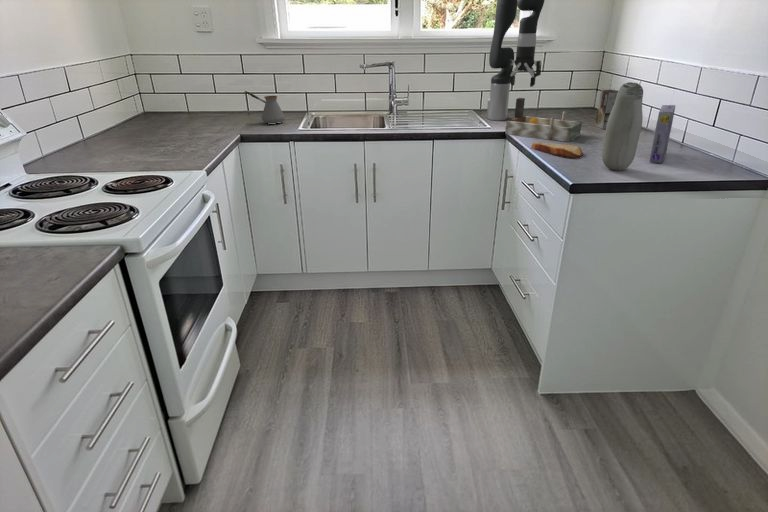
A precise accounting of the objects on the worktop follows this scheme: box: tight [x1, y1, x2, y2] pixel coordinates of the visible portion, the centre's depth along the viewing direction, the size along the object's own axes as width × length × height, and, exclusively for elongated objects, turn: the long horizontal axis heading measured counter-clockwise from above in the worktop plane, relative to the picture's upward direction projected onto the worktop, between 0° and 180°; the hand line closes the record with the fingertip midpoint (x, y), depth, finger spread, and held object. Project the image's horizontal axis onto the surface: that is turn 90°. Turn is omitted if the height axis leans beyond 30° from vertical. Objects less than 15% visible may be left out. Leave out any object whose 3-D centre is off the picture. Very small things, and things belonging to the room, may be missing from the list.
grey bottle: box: [601, 81, 644, 171], centre depth 160 cm, size 10×10×28 cm
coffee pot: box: [242, 90, 286, 123], centre depth 244 cm, size 21×12×15 cm, turn 68°
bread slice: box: [530, 142, 584, 159], centre depth 187 cm, size 18×18×4 cm
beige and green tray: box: [504, 111, 583, 143], centre depth 212 cm, size 28×17×9 cm, turn 54°
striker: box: [510, 97, 527, 123], centre depth 217 cm, size 2×12×11 cm, turn 144°
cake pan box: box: [649, 104, 676, 164], centre depth 175 cm, size 19×5×18 cm, turn 150°
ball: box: [529, 116, 538, 124], centre depth 215 cm, size 4×4×4 cm
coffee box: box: [594, 89, 618, 130], centre depth 222 cm, size 9×6×16 cm
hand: (522, 85), depth 212 cm, fingers open, 8 cm apart
